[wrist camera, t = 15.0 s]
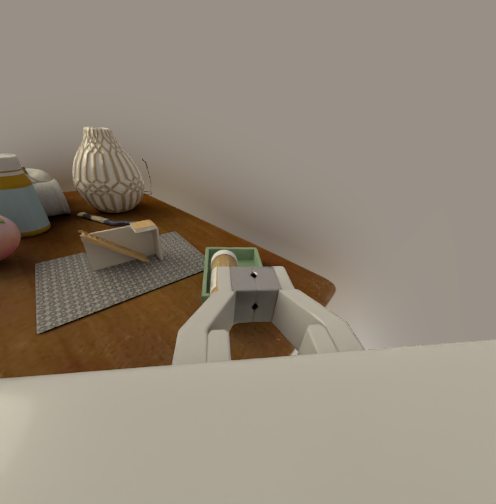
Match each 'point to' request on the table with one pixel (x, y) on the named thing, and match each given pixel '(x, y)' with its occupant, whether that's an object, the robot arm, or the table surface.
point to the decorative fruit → (8, 237)
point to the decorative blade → (104, 219)
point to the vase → (106, 173)
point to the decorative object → (37, 175)
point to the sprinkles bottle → (221, 260)
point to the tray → (244, 259)
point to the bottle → (20, 198)
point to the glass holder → (51, 197)
